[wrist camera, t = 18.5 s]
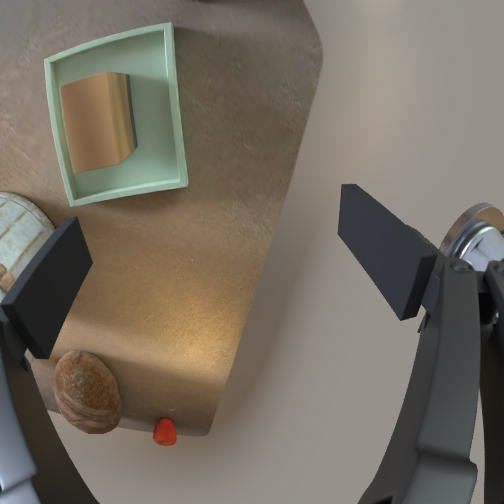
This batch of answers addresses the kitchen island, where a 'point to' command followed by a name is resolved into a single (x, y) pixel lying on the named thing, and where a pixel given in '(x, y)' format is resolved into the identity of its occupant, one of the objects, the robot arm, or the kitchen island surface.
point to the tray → (144, 110)
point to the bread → (87, 393)
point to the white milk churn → (19, 239)
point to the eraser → (99, 120)
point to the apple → (165, 432)
